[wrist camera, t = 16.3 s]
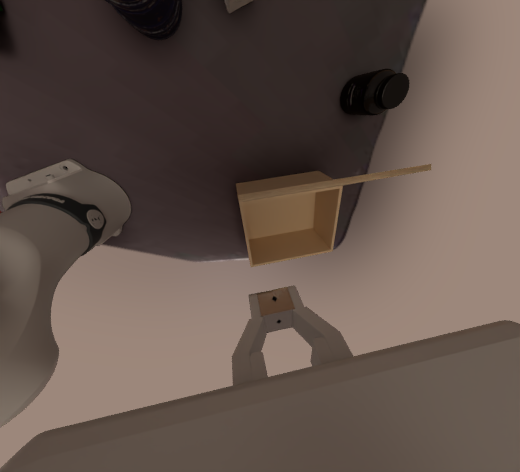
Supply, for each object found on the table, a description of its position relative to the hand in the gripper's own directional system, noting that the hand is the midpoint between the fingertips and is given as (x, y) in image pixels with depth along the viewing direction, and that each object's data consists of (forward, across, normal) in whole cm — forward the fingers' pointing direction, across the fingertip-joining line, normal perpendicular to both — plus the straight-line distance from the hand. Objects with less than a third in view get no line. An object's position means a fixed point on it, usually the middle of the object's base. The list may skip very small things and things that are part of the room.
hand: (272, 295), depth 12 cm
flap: (+19, -10, +1) cm, 21 cm away
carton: (+39, -10, +14) cm, 43 cm away
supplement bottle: (+39, -28, -10) cm, 49 cm away
